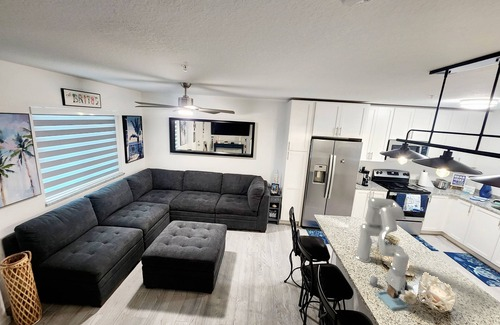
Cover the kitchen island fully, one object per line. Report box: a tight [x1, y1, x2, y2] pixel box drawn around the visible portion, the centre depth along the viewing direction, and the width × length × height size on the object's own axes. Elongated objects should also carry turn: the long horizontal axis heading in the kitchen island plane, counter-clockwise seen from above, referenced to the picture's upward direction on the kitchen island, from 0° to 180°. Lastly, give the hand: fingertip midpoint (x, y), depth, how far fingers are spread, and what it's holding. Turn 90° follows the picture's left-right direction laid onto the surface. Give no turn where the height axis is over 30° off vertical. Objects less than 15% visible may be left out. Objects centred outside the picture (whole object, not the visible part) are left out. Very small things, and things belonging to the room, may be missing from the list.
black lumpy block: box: [404, 281, 410, 292], centre depth 150 cm, size 12×7×5 cm, turn 160°
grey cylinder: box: [369, 275, 379, 288], centre depth 149 cm, size 4×4×5 cm
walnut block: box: [386, 285, 399, 299], centre depth 135 cm, size 4×4×6 cm
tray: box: [375, 290, 408, 311], centre depth 136 cm, size 12×12×2 cm
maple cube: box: [403, 290, 418, 306], centre depth 137 cm, size 5×5×5 cm
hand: (392, 294), depth 135 cm, fingers closed on walnut block, 4 cm apart
